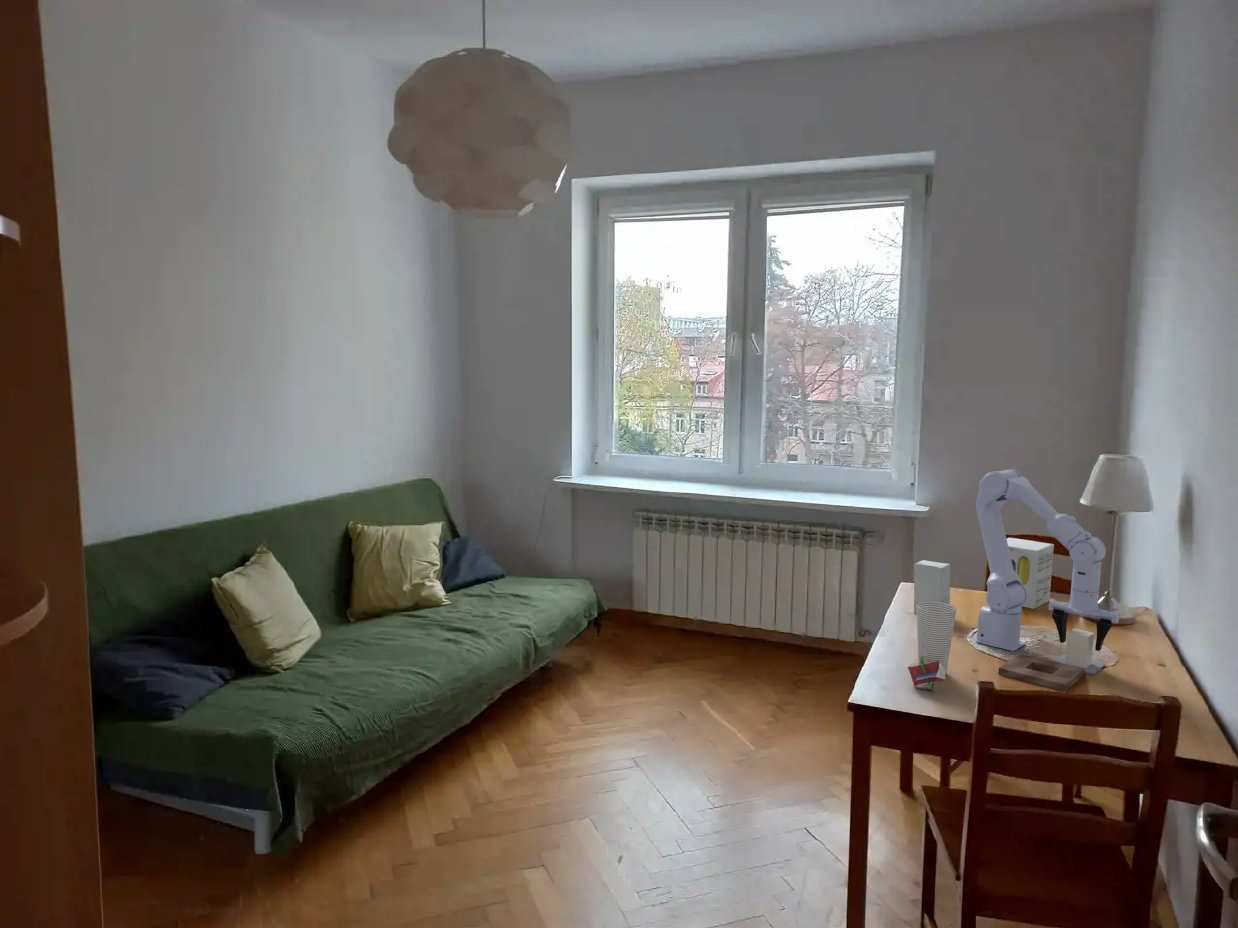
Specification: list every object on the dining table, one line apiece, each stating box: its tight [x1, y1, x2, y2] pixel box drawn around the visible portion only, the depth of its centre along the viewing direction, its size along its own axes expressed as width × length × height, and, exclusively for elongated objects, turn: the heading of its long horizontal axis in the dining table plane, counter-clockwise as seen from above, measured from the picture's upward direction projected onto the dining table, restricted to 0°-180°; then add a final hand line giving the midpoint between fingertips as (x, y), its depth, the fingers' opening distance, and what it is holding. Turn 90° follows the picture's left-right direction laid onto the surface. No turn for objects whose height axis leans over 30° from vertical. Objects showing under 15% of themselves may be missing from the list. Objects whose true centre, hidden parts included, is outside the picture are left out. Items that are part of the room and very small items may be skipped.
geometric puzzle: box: [907, 656, 947, 693], centre depth 184 cm, size 7×7×8 cm
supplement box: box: [1006, 537, 1055, 609], centre depth 253 cm, size 13×13×18 cm
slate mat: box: [1054, 653, 1106, 676], centre depth 200 cm, size 9×9×1 cm
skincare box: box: [913, 559, 951, 615], centre depth 237 cm, size 8×6×15 cm
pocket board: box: [997, 652, 1086, 692], centre depth 193 cm, size 14×14×2 cm
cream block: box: [1065, 628, 1095, 668], centre depth 199 cm, size 4×4×8 cm
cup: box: [916, 601, 957, 675], centre depth 193 cm, size 8×8×16 cm
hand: (1080, 645), depth 199 cm, fingers open, 7 cm apart
